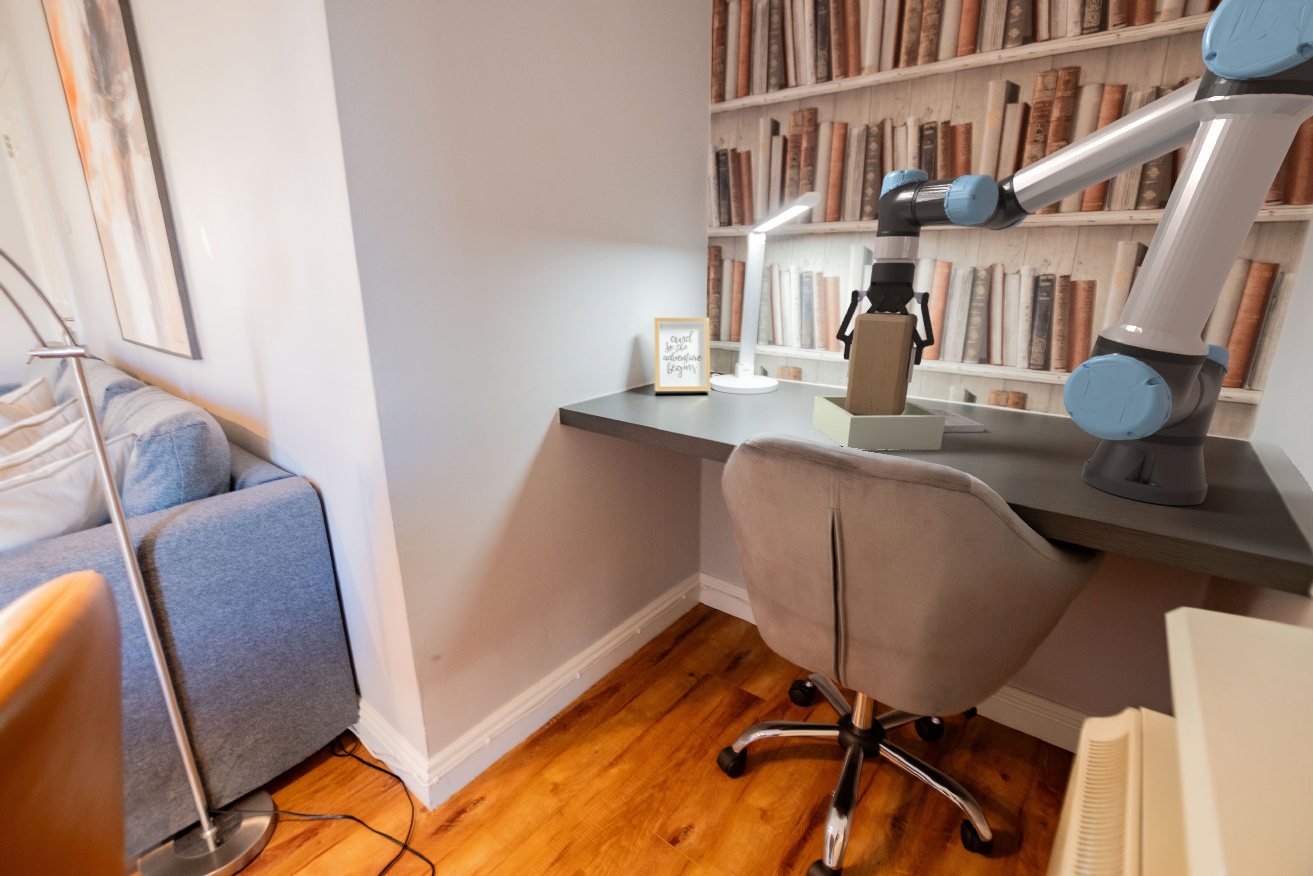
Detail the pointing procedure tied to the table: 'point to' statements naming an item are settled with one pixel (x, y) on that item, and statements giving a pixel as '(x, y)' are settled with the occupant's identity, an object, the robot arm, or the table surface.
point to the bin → (878, 426)
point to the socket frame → (963, 422)
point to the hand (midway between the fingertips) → (878, 378)
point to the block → (880, 364)
